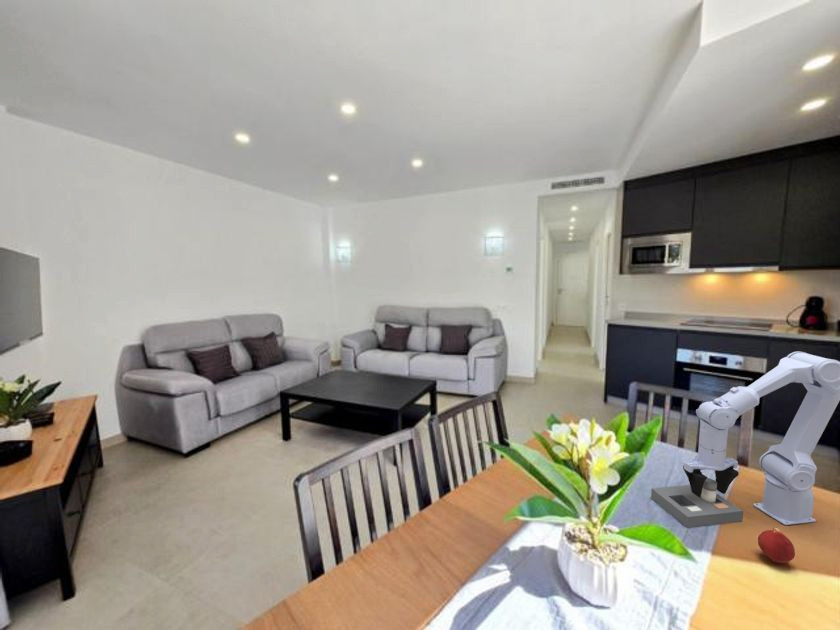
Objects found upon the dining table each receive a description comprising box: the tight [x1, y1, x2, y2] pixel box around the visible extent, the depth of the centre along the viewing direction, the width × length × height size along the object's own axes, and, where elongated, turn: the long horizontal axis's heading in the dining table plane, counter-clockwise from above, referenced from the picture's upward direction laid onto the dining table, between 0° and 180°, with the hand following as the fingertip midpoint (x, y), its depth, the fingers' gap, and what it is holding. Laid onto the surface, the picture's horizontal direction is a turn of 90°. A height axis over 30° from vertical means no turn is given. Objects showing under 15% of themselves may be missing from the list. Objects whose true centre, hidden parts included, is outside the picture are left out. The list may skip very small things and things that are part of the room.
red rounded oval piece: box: [757, 527, 796, 564], centre depth 78 cm, size 6×6×8 cm
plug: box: [701, 477, 718, 504], centre depth 96 cm, size 3×3×8 cm
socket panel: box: [650, 484, 744, 529], centre depth 96 cm, size 16×12×3 cm
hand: (708, 493), depth 96 cm, fingers open, 7 cm apart
